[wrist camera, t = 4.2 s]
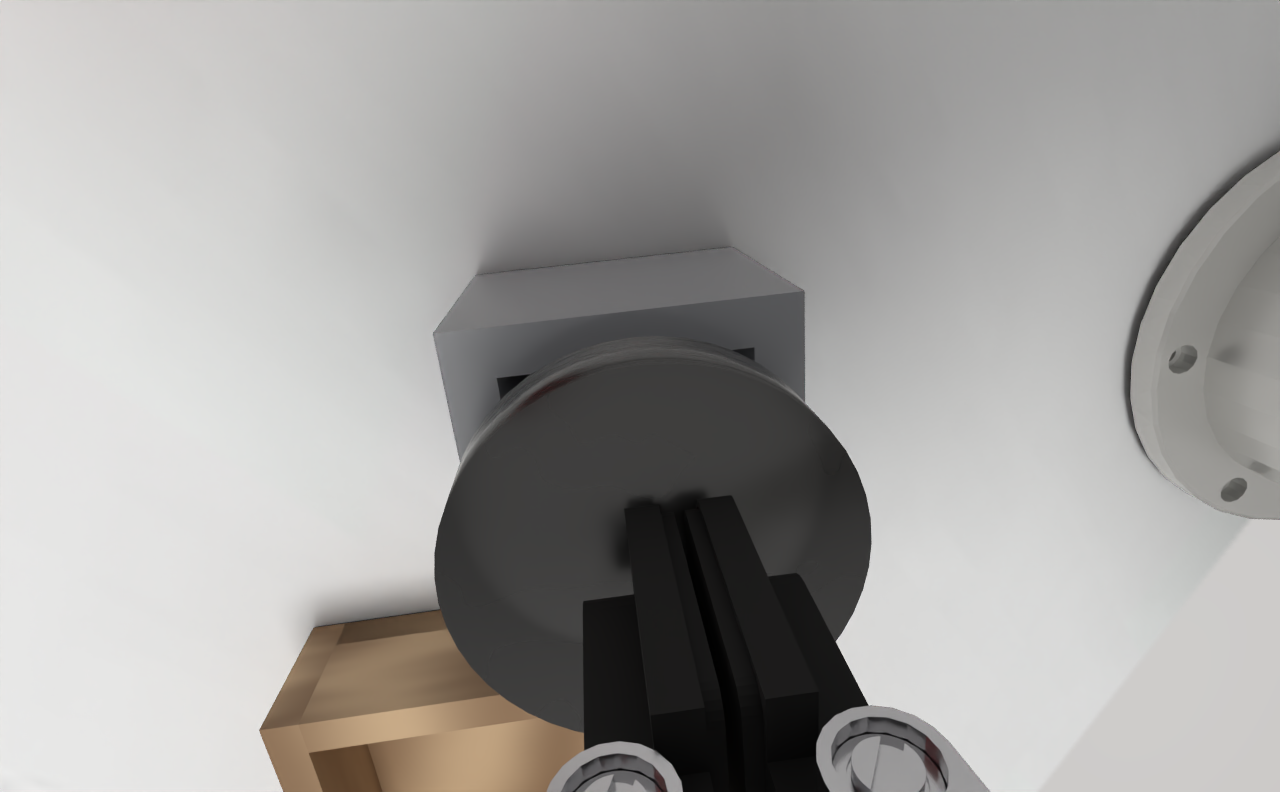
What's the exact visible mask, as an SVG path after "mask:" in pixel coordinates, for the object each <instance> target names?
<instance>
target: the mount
mask: <svg viewBox="0 0 1280 792" xmlns="http://www.w3.org/2000/svg"><path fill="white" fill-rule="evenodd" d="M433 336H434V341H435V346H436V351H437V355H438V360H439V365H440V370H441V374H442V379H443V384H444V389H445V393H446V398H447V403H448V407H449V412H450V417H451V422H452V426H453V431H454V436H455V441H456V445H457V450H458V455H459V459H460V462H461V459H462V457H463V455H464V453H465V451H466V449H467V447H468V445H469V443H470V441H471V439H472V437H473V435H474V433H475V432H476V430H477V429H478V427H479V426H480V425H481V423H482V422H483V420H484V419H485V417H486V416H487V414H488V413H489V412H490V411H491V410H492V409H493V408H494V407H495V406H496V405H497V403H498V402H499V401H500V400H501V399H502V398H503V397H504V396H505V395H506V394H507V393H508V392H509V391H511V390H512V389H513V388H514V387H515V386H517V385H518V384H519V383H520V382H521V381H523V380H524V379H525V378H526V377H528V376H529V375H530V374H532V373H534V372H536V371H537V370H539V369H540V368H542V367H544V366H545V365H547V364H548V363H550V362H552V361H554V360H556V359H559V358H561V357H563V356H565V355H567V354H569V353H572V352H574V351H576V350H579V349H583V348H586V347H589V346H592V345H595V344H598V343H602V342H607V341H612V340H618V339H623V338H629V337H644V336H668V337H681V338H689V339H694V340H698V341H703V342H708V343H713V344H715V345H718V346H721V347H724V348H727V349H730V350H732V351H735V352H738V353H740V354H742V355H744V356H746V357H748V358H749V359H751V360H753V361H755V362H757V363H759V364H761V365H762V366H764V367H765V368H766V369H768V370H769V371H771V372H772V373H774V374H775V375H776V376H778V377H779V378H780V379H782V380H783V381H784V382H785V383H786V384H787V385H788V386H789V387H790V388H791V389H792V390H793V391H794V392H795V393H796V394H797V395H798V396H799V397H800V398H801V399H802V400H803V401H804V402H805V318H804V290H802V289H800V288H799V287H797V286H795V285H794V284H792V283H791V282H789V281H787V280H786V279H784V278H782V277H781V276H779V275H777V274H776V273H774V272H773V271H771V270H769V269H768V268H766V267H764V266H763V265H761V264H759V263H758V262H756V261H755V260H753V259H751V258H750V257H748V256H746V255H745V254H743V253H741V252H740V251H738V250H737V249H735V248H733V247H726V248H717V249H708V250H699V251H690V252H681V253H671V254H662V255H653V256H644V257H635V258H626V259H617V260H608V261H599V262H590V263H580V264H571V265H562V266H553V267H544V268H535V269H526V270H517V271H508V272H499V273H489V274H480V275H475V276H474V278H473V279H472V281H471V282H470V283H469V285H468V286H467V287H466V289H465V290H464V292H463V293H462V294H461V296H460V297H459V298H458V300H457V301H456V303H455V304H454V305H453V307H452V308H451V309H450V311H449V312H448V314H447V315H446V316H445V318H444V319H443V320H442V322H441V323H440V325H439V326H438V327H437V329H436V330H435V331H434V333H433Z"/></svg>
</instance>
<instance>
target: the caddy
mask: <svg viewBox="0 0 1280 792" xmlns="http://www.w3.org/2000/svg"><path fill="white" fill-rule="evenodd" d="M259 731H260V734H261V736H262V739H263V741H264V744H265V746H266V749H267V752H268V754H269V757H270V759H271V762H272V764H273V767H274V769H275V772H276V774H277V777H278V779H279V782H280V784H281V787H282V789H283V792H547V789H548V787H549V784H550V782H551V781H552V779H553V778H554V777H555V775H556V774H557V773H558V771H559V770H560V769H561V767H562V766H563V765H564V764H566V763H567V762H568V761H569V760H571V759H572V758H573V757H575V756H576V755H577V754H579V753H580V752H582V751H584V733H582V732H577V731H573V730H570V729H567V728H564V727H561V726H557V725H554V724H551V723H549V722H547V721H544V720H542V719H540V718H538V717H536V716H533V715H531V714H529V713H527V712H525V711H524V710H522V709H521V708H519V707H517V706H516V705H514V704H512V703H511V702H509V701H507V700H506V699H505V698H504V697H502V696H501V695H500V694H499V693H497V692H496V691H495V690H494V689H492V688H491V687H490V686H489V685H487V683H486V682H485V681H484V680H483V679H482V678H481V677H480V676H479V675H478V674H477V673H476V672H475V671H474V670H473V669H472V668H471V666H470V665H469V664H468V662H467V661H466V659H465V658H464V657H463V655H462V654H461V652H460V651H459V650H458V648H457V646H456V644H455V643H454V641H453V639H452V637H451V635H450V633H449V631H448V629H447V627H446V624H445V621H444V618H443V615H442V612H441V610H437V611H430V612H422V613H415V614H408V615H401V616H394V617H387V618H379V619H372V620H365V621H358V622H351V623H344V624H337V625H329V626H322V627H315V628H313V630H312V632H311V634H310V636H309V638H308V639H307V641H306V643H305V645H304V647H303V649H302V651H301V653H300V654H299V656H298V658H297V660H296V662H295V664H294V666H293V668H292V670H291V671H290V673H289V675H288V677H287V679H286V681H285V683H284V685H283V687H282V688H281V690H280V692H279V694H278V696H277V698H276V700H275V702H274V704H273V705H272V707H271V709H270V711H269V713H268V715H267V717H266V719H265V721H264V722H263V724H262V726H261V728H260V730H259Z"/></svg>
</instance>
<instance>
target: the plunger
mask: <svg viewBox="0 0 1280 792" xmlns="http://www.w3.org/2000/svg"><path fill="white" fill-rule="evenodd" d="M727 495H732V497H733V499H734V501H735V503H736V505H737V508H738V510H739V512H740V514H741V517H742V519H743V521H744V523H745V526H746V528H747V530H748V532H749V535H750V537H751V539H752V542H753V544H754V546H755V548H756V551H757V553H758V555H759V557H760V560H761V562H762V564H763V566H764V569H765V571H766V573H767V576H776V575H783V574H791V573H797V574H799V575H800V576H801V578H802V579H803V581H804V582H805V584H806V586H807V588H808V590H809V592H810V594H811V596H812V598H813V600H814V602H815V603H816V605H817V607H818V609H819V611H820V613H821V615H822V617H823V619H824V621H825V623H826V625H827V627H828V628H829V630H830V632H831V634H832V636H833V638H834V640H835V641H836V640H837V639H838V637H839V636H840V635H841V633H842V632H843V630H844V628H845V626H846V625H847V623H848V621H849V619H850V618H851V616H852V614H853V612H854V610H855V608H856V605H857V603H858V600H859V598H860V595H861V593H862V591H863V587H864V583H865V579H866V576H867V572H868V568H869V560H870V552H871V519H870V513H869V508H868V503H867V498H866V494H865V491H864V488H863V486H862V483H861V480H860V477H859V474H858V472H857V470H856V468H855V466H854V465H853V463H852V461H851V459H850V457H849V455H848V454H847V452H846V450H845V449H844V447H843V446H842V445H841V444H840V442H839V441H838V440H837V438H836V437H835V436H834V434H833V433H832V432H831V431H830V429H829V428H828V427H827V426H826V425H825V424H824V423H823V422H822V421H821V420H820V419H819V417H818V416H817V415H816V414H815V413H814V412H813V411H812V410H811V409H810V408H809V407H808V406H807V404H806V403H805V402H804V401H803V400H802V399H801V398H800V397H799V396H798V395H797V394H796V393H795V392H794V391H793V390H792V389H791V388H790V387H789V386H788V385H787V384H786V383H785V382H784V381H783V380H782V379H780V378H779V377H778V376H776V375H775V374H774V373H772V372H771V371H769V370H768V369H766V368H765V367H764V366H762V365H761V364H759V363H757V362H755V361H753V360H751V359H749V358H748V357H746V356H744V355H742V354H740V353H738V352H735V351H732V350H730V349H727V348H724V347H721V346H718V345H715V344H713V343H708V342H703V341H698V340H694V339H689V338H681V337H668V336H644V337H629V338H623V339H618V340H612V341H607V342H602V343H598V344H595V345H592V346H589V347H586V348H583V349H579V350H576V351H574V352H572V353H569V354H567V355H565V356H563V357H561V358H559V359H556V360H554V361H552V362H550V363H548V364H547V365H545V366H544V367H542V368H540V369H539V370H537V371H536V372H534V373H532V374H531V375H529V376H528V377H526V378H525V379H524V380H523V381H521V382H520V383H519V384H518V385H517V386H515V387H514V388H513V389H512V390H511V391H509V392H508V393H507V394H506V395H505V396H504V397H503V398H502V399H501V400H500V401H499V402H498V403H497V405H496V406H495V407H494V408H493V409H492V410H491V411H490V412H489V413H488V414H487V416H486V417H485V419H484V420H483V422H482V423H481V425H480V426H479V427H478V429H477V430H476V432H475V433H474V435H473V437H472V439H471V441H470V443H469V445H468V447H467V449H466V451H465V453H464V455H463V457H462V459H461V462H460V465H459V468H458V471H457V474H456V477H455V480H454V483H453V486H452V488H451V491H450V494H449V497H448V500H447V503H446V506H445V509H444V512H443V516H442V519H441V522H440V525H439V528H438V535H437V541H436V547H435V584H436V590H437V596H438V603H439V606H440V609H441V612H442V615H443V618H444V621H445V624H446V627H447V629H448V631H449V633H450V635H451V637H452V639H453V641H454V643H455V644H456V646H457V648H458V650H459V651H460V652H461V654H462V655H463V657H464V658H465V659H466V661H467V662H468V664H469V665H470V666H471V668H472V669H473V670H474V671H475V672H476V673H477V674H478V675H479V676H480V677H481V678H482V679H483V680H484V681H485V682H486V683H487V685H489V686H490V687H491V688H492V689H494V690H495V691H496V692H497V693H499V694H500V695H501V696H502V697H504V698H505V699H506V700H507V701H509V702H511V703H512V704H514V705H516V706H517V707H519V708H521V709H522V710H524V711H525V712H527V713H529V714H531V715H533V716H536V717H538V718H540V719H542V720H544V721H547V722H549V723H551V724H554V725H557V726H561V727H564V728H567V729H570V730H573V731H577V732H582V733H584V695H583V601H587V600H595V599H602V598H610V597H617V596H625V595H632V594H634V591H633V582H632V574H631V565H630V556H629V548H628V539H627V531H626V522H625V513H624V508H632V507H640V506H648V505H656V504H658V505H659V508H660V512H661V513H667V512H674V515H675V519H676V523H677V526H678V530H679V534H680V538H681V542H682V546H683V549H684V553H685V557H686V561H687V550H686V538H685V525H684V510H691V509H696V499H704V498H712V497H720V496H727ZM687 565H688V563H687Z"/></svg>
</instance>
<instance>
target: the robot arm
mask: <svg viewBox="0 0 1280 792" xmlns="http://www.w3.org/2000/svg"><path fill="white" fill-rule="evenodd" d="M1130 400H1131V405H1132V411H1133V417H1134V422H1135V428H1136V431H1137V434H1138V436H1139V438H1140V440H1141V443H1142V445H1143V447H1144V449H1145V452H1146V454H1147V456H1148V457H1149V459H1150V460H1151V461H1152V462H1153V464H1154V465H1155V466H1156V467H1157V469H1158V470H1159V471H1160V472H1161V473H1162V475H1163V476H1164V477H1165V478H1166V479H1167V480H1169V481H1170V482H1172V483H1173V484H1174V485H1176V486H1177V487H1179V488H1180V489H1181V490H1183V491H1184V492H1186V493H1187V494H1189V495H1191V496H1192V497H1194V498H1196V499H1198V500H1200V501H1202V502H1203V503H1205V504H1207V505H1209V506H1211V507H1213V508H1214V509H1217V510H1219V511H1222V512H1226V513H1230V514H1234V515H1237V516H1241V517H1245V518H1249V519H1273V520H1280V151H1279V152H1277V153H1276V154H1275V155H1273V156H1272V157H1270V158H1269V159H1268V160H1266V161H1265V162H1263V163H1262V164H1261V165H1259V166H1258V167H1256V168H1255V169H1254V170H1252V171H1251V172H1249V173H1248V174H1247V175H1245V176H1244V177H1243V178H1242V179H1241V180H1240V181H1239V182H1238V183H1237V184H1236V185H1235V186H1233V187H1232V188H1231V189H1230V190H1229V191H1228V192H1227V193H1226V194H1225V195H1224V196H1223V197H1222V198H1221V199H1220V200H1219V201H1218V202H1217V203H1216V204H1215V205H1213V206H1212V207H1211V208H1210V209H1209V210H1208V212H1207V213H1206V214H1205V215H1204V217H1203V218H1202V219H1201V220H1200V222H1199V223H1198V224H1197V225H1196V227H1195V228H1194V229H1193V230H1192V232H1191V233H1190V234H1189V236H1188V237H1187V238H1186V239H1185V241H1184V242H1183V243H1182V244H1181V246H1180V247H1179V248H1178V250H1177V252H1176V254H1175V255H1174V257H1173V259H1172V260H1171V262H1170V264H1169V265H1168V267H1167V269H1166V270H1165V272H1164V274H1163V275H1162V277H1161V279H1160V280H1159V282H1158V284H1157V286H1156V288H1155V290H1154V293H1153V295H1152V298H1151V300H1150V303H1149V305H1148V307H1147V310H1146V312H1145V315H1144V317H1143V320H1142V322H1141V325H1140V329H1139V333H1138V337H1137V342H1136V346H1135V350H1134V355H1133V359H1132V366H1131V392H1130ZM624 513H625V522H626V531H627V539H628V548H629V556H630V565H631V574H632V582H633V591H634V594H632V595H625V596H617V597H610V598H602V599H595V600H587V601H583V695H584V751H582V752H580V753H579V754H577V755H576V756H575V757H573V758H572V759H571V760H569V761H568V762H567V763H566V764H564V765H563V766H562V767H561V769H560V770H559V771H558V773H557V774H556V775H555V777H554V778H553V779H552V781H551V782H550V784H549V787H548V789H547V792H990V791H989V789H988V788H987V787H986V786H985V785H984V783H983V782H982V781H981V780H980V778H979V777H978V776H977V775H976V774H975V772H974V771H973V770H972V769H971V767H970V766H969V765H968V764H967V763H966V761H965V760H964V759H963V758H962V756H961V755H960V754H959V753H958V752H957V750H956V749H955V748H954V747H953V745H952V744H951V743H950V742H949V741H948V740H947V739H946V738H945V737H944V736H943V735H942V734H941V733H940V732H939V731H937V730H936V729H935V728H934V727H933V726H931V725H930V724H928V723H926V722H925V721H923V720H921V719H920V718H918V717H916V716H915V715H912V714H909V713H906V712H903V711H901V710H898V709H895V708H890V707H881V706H872V705H870V706H869V705H868V704H867V702H866V700H865V698H864V696H863V694H862V692H861V690H860V688H859V686H858V684H857V682H856V680H855V678H854V677H853V675H852V673H851V671H850V669H849V667H848V665H847V663H846V661H845V659H844V657H843V655H842V653H841V652H840V650H839V648H838V646H837V644H836V642H835V640H834V638H833V636H832V634H831V632H830V630H829V628H828V627H827V625H826V623H825V621H824V619H823V617H822V615H821V613H820V611H819V609H818V607H817V605H816V603H815V602H814V600H813V598H812V596H811V594H810V592H809V590H808V588H807V586H806V584H805V582H804V581H803V579H802V578H801V576H800V575H799V574H797V573H791V574H783V575H776V576H767V573H766V571H765V569H764V566H763V564H762V562H761V560H760V557H759V555H758V553H757V551H756V548H755V546H754V544H753V542H752V539H751V537H750V535H749V532H748V530H747V528H746V526H745V523H744V521H743V519H742V517H741V514H740V512H739V510H738V508H737V505H736V503H735V501H734V499H733V497H732V495H727V496H720V497H712V498H704V499H696V509H691V510H684V525H685V538H686V550H687V561H686V557H685V553H684V549H683V546H682V542H681V538H680V534H679V530H678V526H677V523H676V519H675V515H674V512H667V513H661V512H660V508H659V505H658V504H656V505H648V506H640V507H632V508H624ZM687 563H688V565H687Z"/></svg>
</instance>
